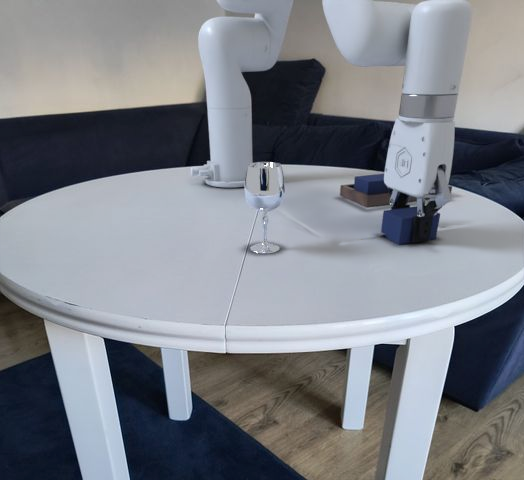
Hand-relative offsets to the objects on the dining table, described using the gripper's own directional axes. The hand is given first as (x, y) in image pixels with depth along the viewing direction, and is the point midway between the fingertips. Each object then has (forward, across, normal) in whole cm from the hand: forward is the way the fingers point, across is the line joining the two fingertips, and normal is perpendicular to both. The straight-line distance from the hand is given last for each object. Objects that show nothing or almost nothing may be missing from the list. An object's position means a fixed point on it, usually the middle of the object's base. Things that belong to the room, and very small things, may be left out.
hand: (408, 234), depth 77 cm
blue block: (0, -21, +7) cm, 22 cm away
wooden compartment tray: (0, -21, +12) cm, 24 cm away
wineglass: (+1, -4, -23) cm, 23 cm away
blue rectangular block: (0, 0, 0) cm, 0 cm away
